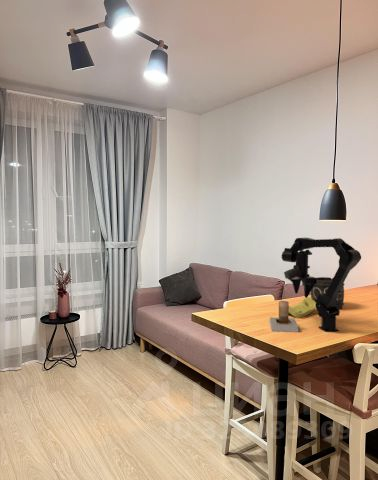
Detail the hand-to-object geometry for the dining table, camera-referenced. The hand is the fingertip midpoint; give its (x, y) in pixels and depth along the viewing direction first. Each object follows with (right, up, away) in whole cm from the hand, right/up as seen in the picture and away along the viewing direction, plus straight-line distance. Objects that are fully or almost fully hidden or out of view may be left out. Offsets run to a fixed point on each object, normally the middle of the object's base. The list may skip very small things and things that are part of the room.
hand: (301, 295), depth 177 cm
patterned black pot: (+25, -11, +31) cm, 41 cm away
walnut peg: (-11, -14, -9) cm, 19 cm away
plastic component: (+5, -13, +16) cm, 21 cm away
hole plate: (-11, -14, -9) cm, 20 cm away
